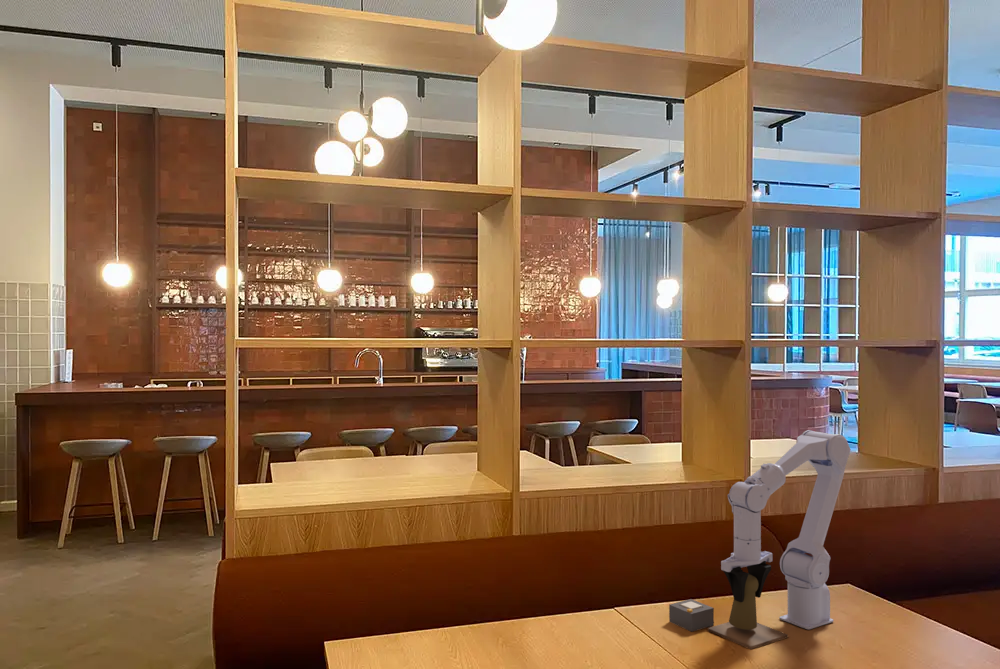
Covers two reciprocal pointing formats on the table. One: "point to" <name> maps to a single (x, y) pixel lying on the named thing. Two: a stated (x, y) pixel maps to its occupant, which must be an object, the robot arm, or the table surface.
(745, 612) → the olive green pawn
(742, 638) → the coaster
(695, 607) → the button
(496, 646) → the table surface
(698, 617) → the switch box
